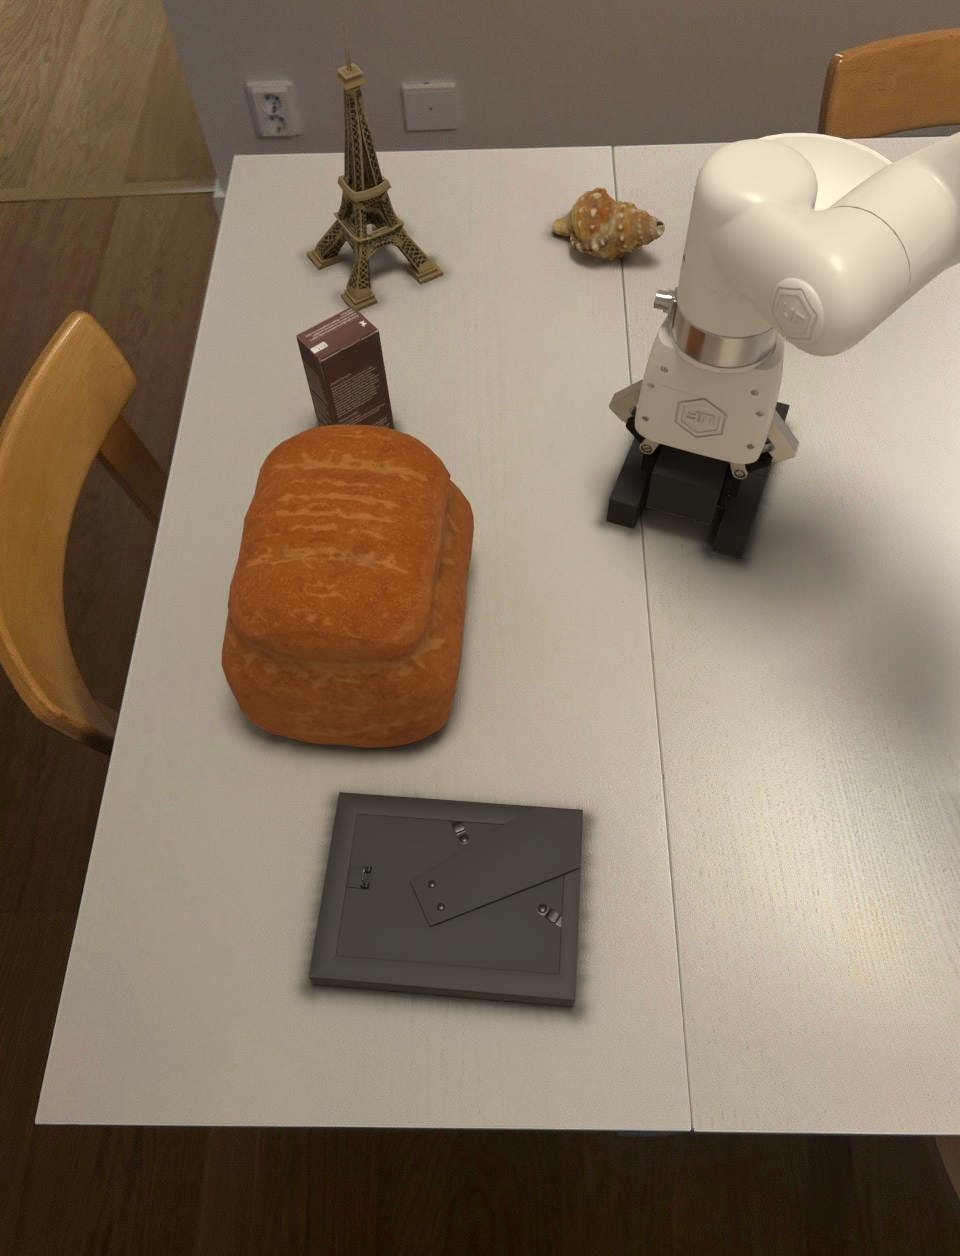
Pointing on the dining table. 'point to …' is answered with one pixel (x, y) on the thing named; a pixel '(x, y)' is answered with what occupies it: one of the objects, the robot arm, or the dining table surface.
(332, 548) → the bread
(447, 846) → the picture frame
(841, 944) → the dining table surface
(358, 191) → the eiffel tower
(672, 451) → the dark grey square block
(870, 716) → the dining table surface
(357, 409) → the box
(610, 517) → the forked base block
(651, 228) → the seashell
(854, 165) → the bowl
